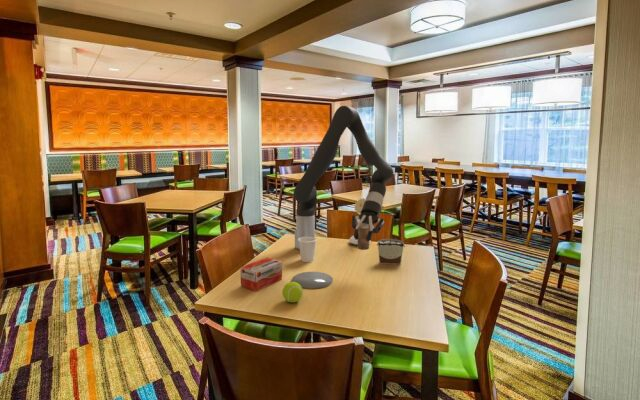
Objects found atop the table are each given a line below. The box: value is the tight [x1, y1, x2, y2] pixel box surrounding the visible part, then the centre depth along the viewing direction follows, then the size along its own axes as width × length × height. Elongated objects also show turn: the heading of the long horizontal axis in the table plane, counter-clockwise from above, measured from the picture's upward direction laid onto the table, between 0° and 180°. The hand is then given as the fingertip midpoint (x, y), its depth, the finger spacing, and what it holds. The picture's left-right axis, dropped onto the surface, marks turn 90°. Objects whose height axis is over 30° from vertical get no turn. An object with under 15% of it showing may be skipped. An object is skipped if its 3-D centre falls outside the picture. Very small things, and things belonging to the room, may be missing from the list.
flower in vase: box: [348, 197, 372, 246], centre depth 202 cm, size 13×11×25 cm
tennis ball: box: [281, 281, 304, 303], centre depth 134 cm, size 7×7×7 cm
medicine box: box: [240, 257, 283, 292], centre depth 150 cm, size 15×8×8 cm, turn 144°
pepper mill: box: [356, 223, 370, 251], centre depth 156 cm, size 5×5×10 cm
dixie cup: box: [298, 237, 317, 263], centre depth 177 cm, size 8×8×10 cm
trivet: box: [291, 271, 333, 290], centre depth 153 cm, size 16×16×1 cm
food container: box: [376, 238, 405, 265], centre depth 176 cm, size 12×6×10 cm, turn 84°
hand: (361, 239), depth 155 cm, fingers closed on pepper mill, 4 cm apart
